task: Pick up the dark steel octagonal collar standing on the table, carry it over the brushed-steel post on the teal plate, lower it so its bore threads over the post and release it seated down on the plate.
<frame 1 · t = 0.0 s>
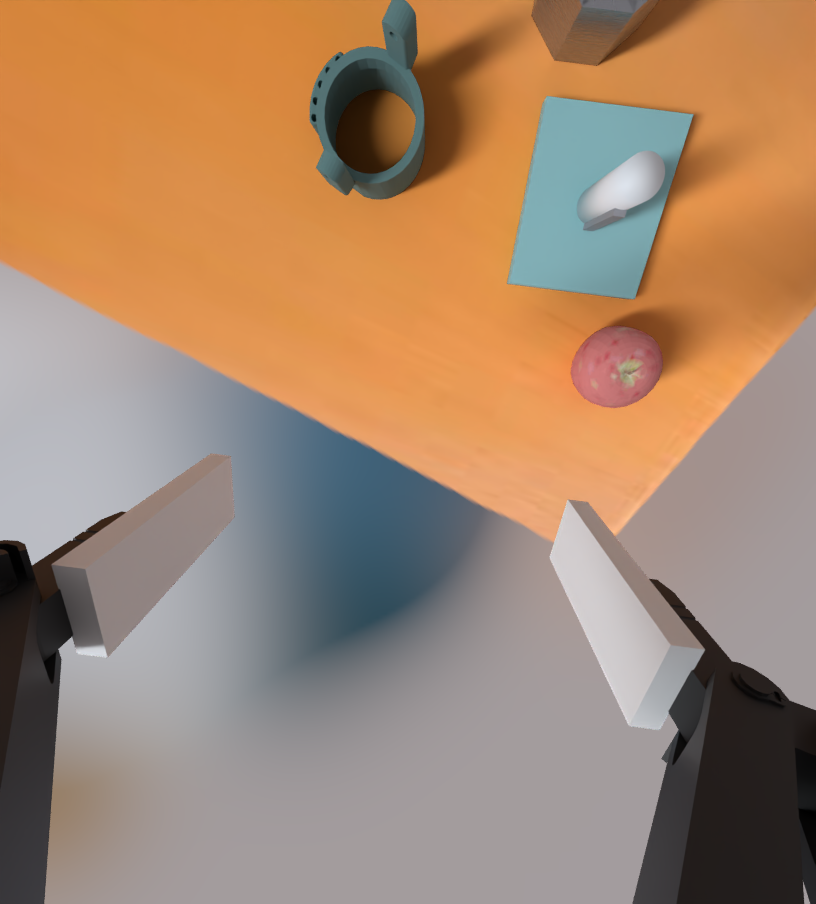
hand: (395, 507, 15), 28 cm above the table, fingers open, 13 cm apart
apple: (595, 361, 39), on the table
bracket: (374, 142, 34), on the table
stand: (588, 208, 34), on the table
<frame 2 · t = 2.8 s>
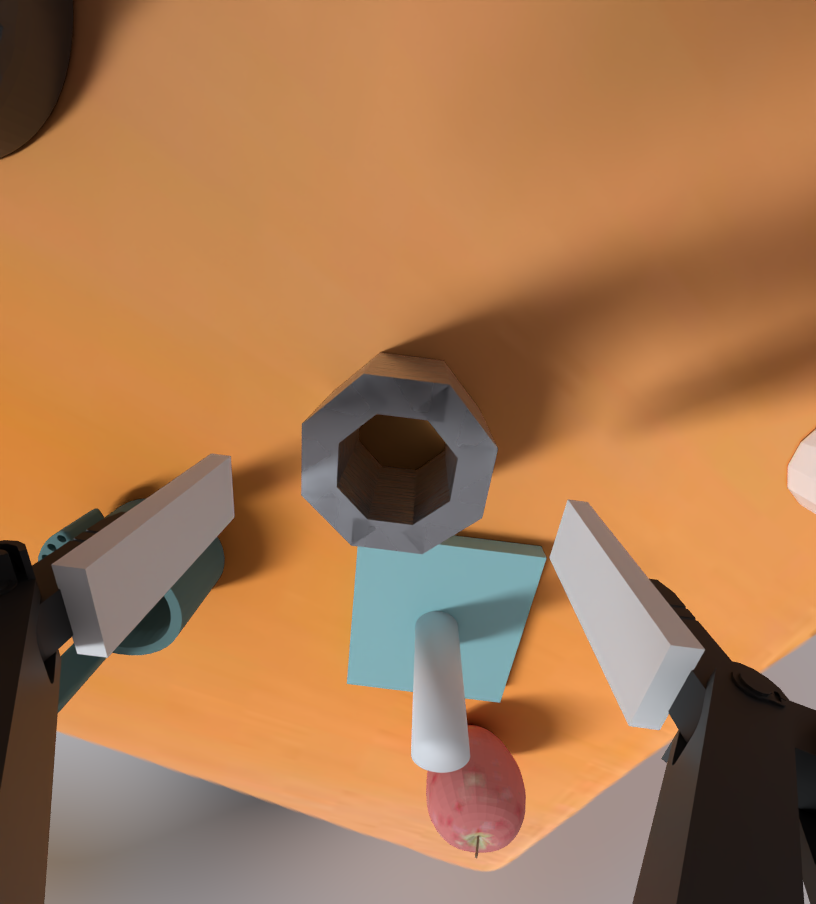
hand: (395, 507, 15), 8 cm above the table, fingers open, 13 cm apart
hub: (403, 428, 22), on the table
apple: (468, 730, 33), on the table
bracket: (162, 544, 27), on the table
stand: (436, 613, 28), on the table
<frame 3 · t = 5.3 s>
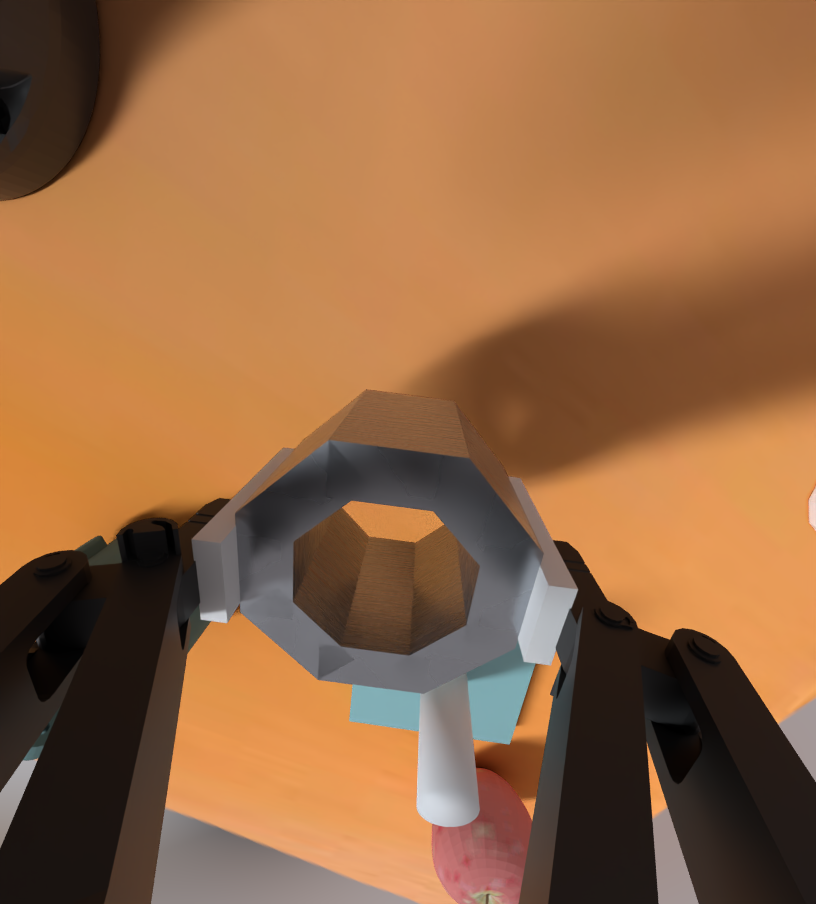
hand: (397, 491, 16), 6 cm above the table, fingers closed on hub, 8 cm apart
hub: (398, 489, 16), point 6 cm above the table, touching gripper
apple: (475, 773, 31), on the table
bracket: (164, 572, 26), on the table
stand: (442, 648, 27), on the table
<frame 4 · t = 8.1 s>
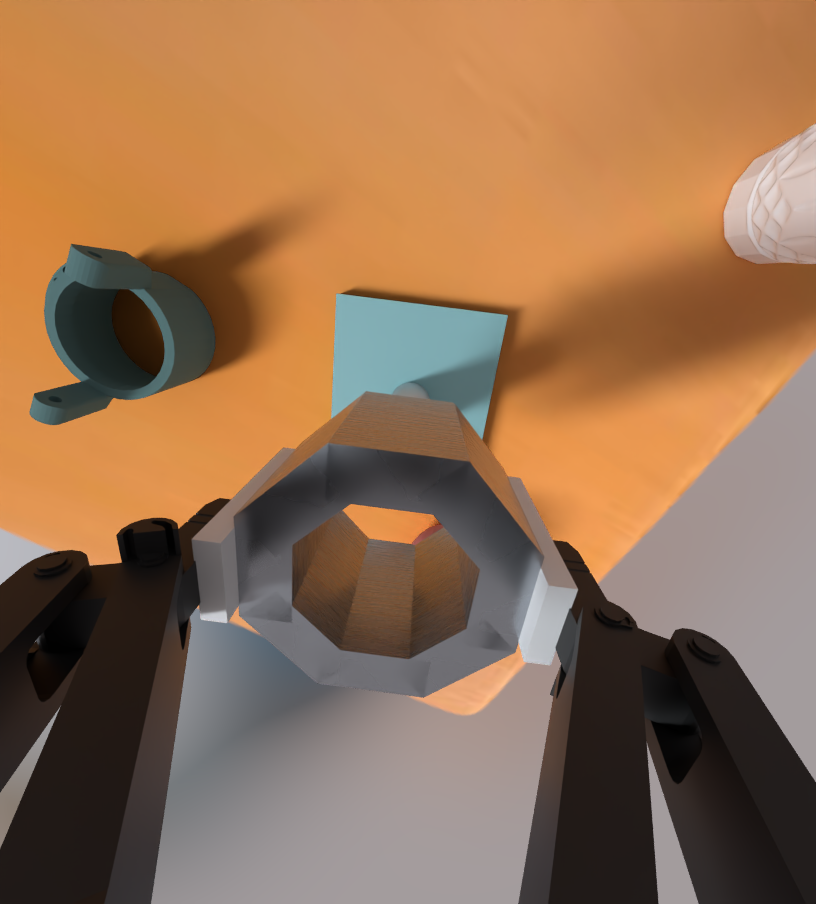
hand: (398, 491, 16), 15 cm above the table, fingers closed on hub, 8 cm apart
white cup: (775, 205, 24), on the table
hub: (398, 491, 16), point 15 cm above the table, touching gripper
bracket: (158, 326, 29), on the table
stand: (410, 398, 30), on the table
when the fingers open (3 cm above the table, at t = 11.0 s): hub drops 2 cm, resting on stand.
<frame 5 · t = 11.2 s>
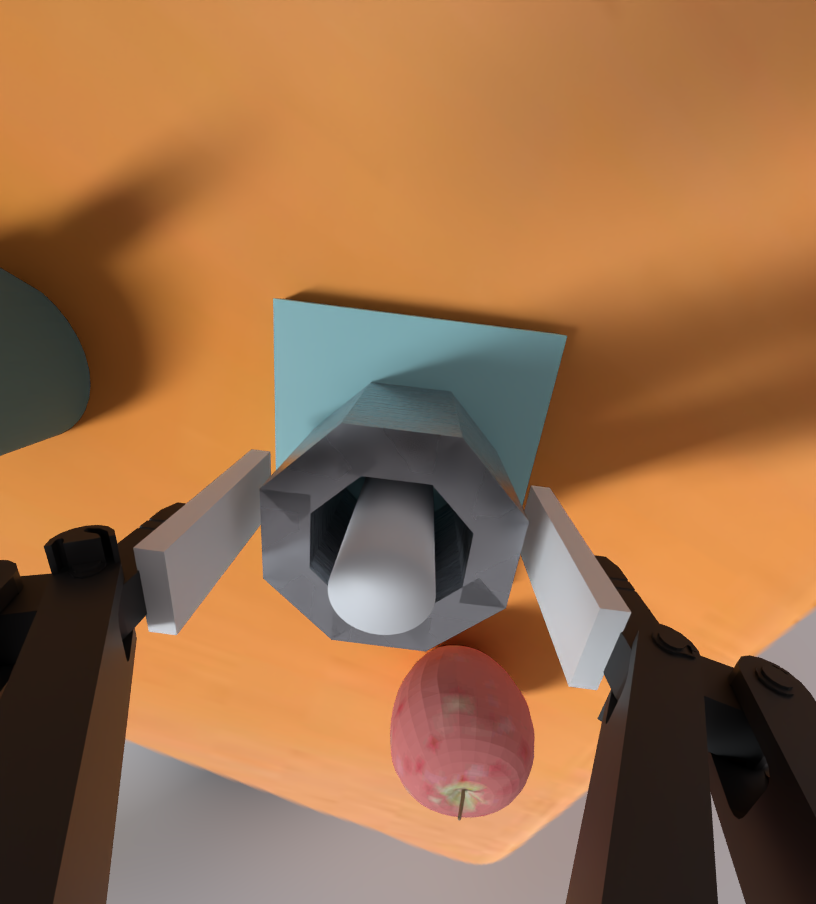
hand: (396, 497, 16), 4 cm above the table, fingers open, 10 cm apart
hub: (401, 473, 18), point 1 cm above the table, touching stand
apple: (453, 658, 24), on the table
stand: (402, 462, 19), on the table
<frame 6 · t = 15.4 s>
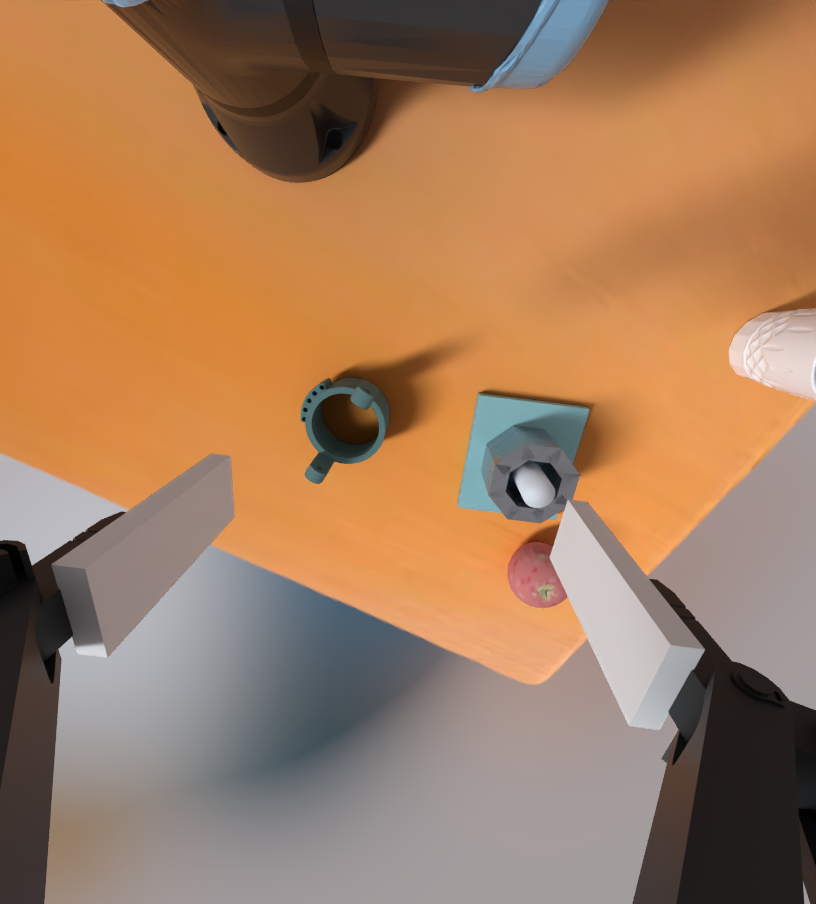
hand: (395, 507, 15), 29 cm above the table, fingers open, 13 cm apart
white cup: (761, 345, 39), on the table
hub: (519, 461, 43), point 1 cm above the table, touching stand
apple: (530, 553, 49), on the table
bracket: (351, 410, 44), on the table
stand: (517, 457, 44), on the table
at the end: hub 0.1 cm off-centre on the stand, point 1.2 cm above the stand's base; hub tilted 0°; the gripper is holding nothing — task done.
